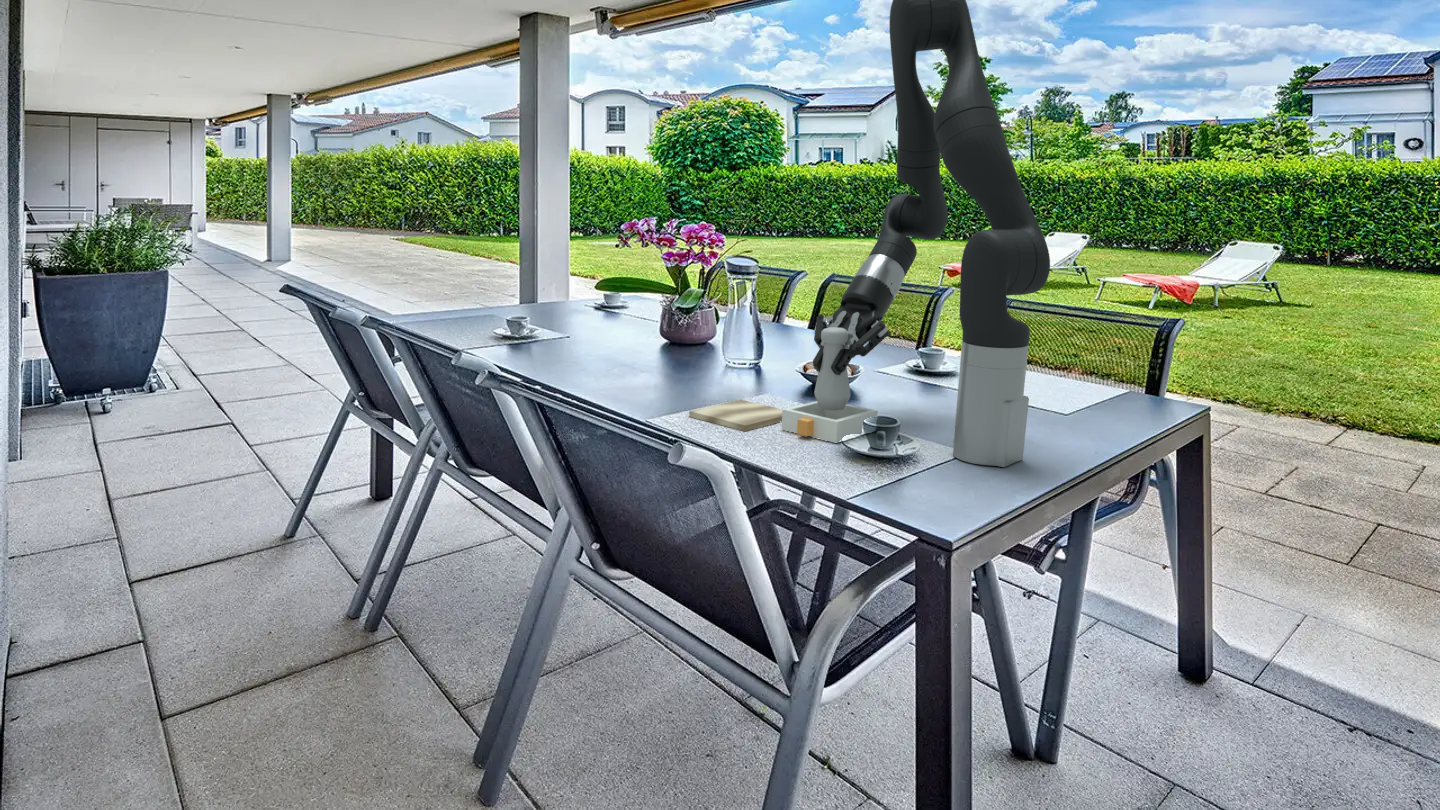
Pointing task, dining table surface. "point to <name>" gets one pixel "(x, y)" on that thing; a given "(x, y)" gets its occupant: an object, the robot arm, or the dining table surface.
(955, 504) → the dining table surface
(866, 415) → the pale grey open tray
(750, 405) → the oak board
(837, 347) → the salt shaker
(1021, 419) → the robot arm
